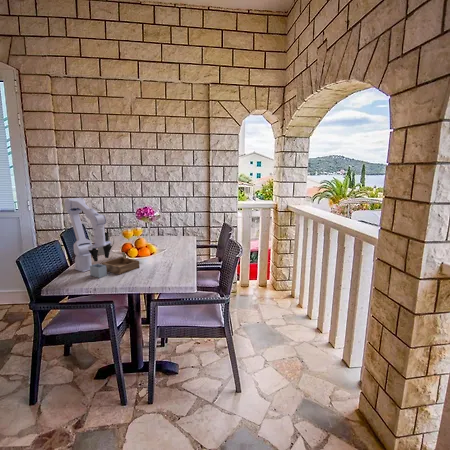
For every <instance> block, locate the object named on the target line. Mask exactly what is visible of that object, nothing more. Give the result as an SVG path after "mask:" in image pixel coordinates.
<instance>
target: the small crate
mask: <svg viewBox="0 0 450 450" xmlns="http://www.w3.org/2000/svg"><path fill="white" fill-rule="evenodd" d="M89 271H90V272H89V273H90V277H94V278H96V279H101V278H104V277H108V274H107V273H108V271H107V269H106V266H105V265H102V263H101V264H100V263H94V264H92V265H91V266H90V270H89Z"/></svg>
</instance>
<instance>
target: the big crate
mask: <svg viewBox="0 0 450 450" xmlns="http://www.w3.org/2000/svg"><path fill="white" fill-rule="evenodd" d="M101 265H105V266H106V269H107V273H108V272H109V273H111V274H116V275H123V274H126V273H129V272H133V271H134V270H138V269H140V260H137V259H134V258H133V259H128V258H124V257H123V256H121V257H118V258H114V259H111V260H107V261H104V262H101Z"/></svg>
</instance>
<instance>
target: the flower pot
mask: <svg viewBox="0 0 450 450" xmlns="http://www.w3.org/2000/svg"><path fill="white" fill-rule="evenodd" d="M133 246H134V247H135V245H133ZM122 247H123V246H121V247H120V250H121V254H122V257H124V258H126V255H125V253H124V252H122ZM135 248H136V247H135Z"/></svg>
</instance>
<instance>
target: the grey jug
mask: <svg viewBox="0 0 450 450" xmlns="http://www.w3.org/2000/svg"><path fill="white" fill-rule="evenodd" d="M111 238H112V240H113V242H112V245H111V246H112V247H114V245H115V237H114V236H113V235H109V232H105V242H108V241H111V240H110V239H111ZM97 250H98V255H99V256H105V254H104V249H103V247H100V248H97ZM110 254H111V252H110V253H109V255H110Z"/></svg>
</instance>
